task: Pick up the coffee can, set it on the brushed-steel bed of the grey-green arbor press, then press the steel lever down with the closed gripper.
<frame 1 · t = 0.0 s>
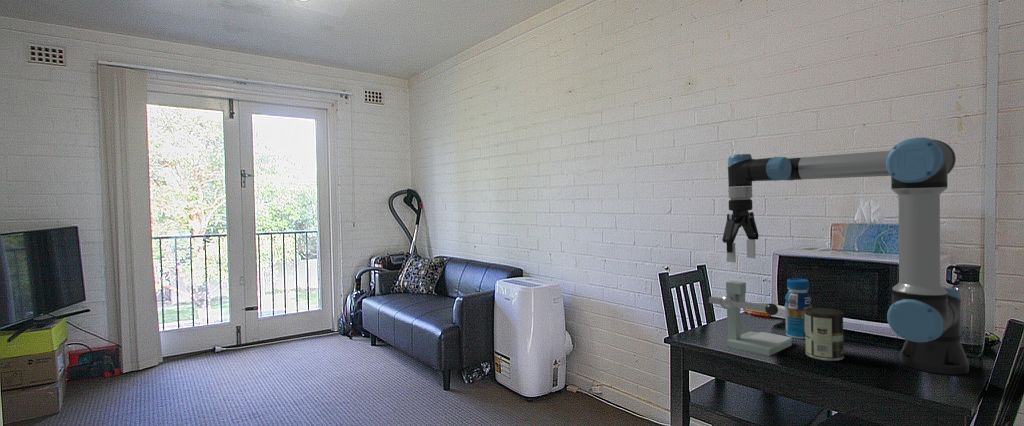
hand: (741, 260, 172), 28 cm above the table, fingers open, 13 cm apart
lever: (742, 304, 161), point 15 cm above the table, hinge at 0.0°
press: (761, 344, 167), on the table
beverage bottle: (798, 336, 175), on the table
coffee can: (824, 356, 154), on the table
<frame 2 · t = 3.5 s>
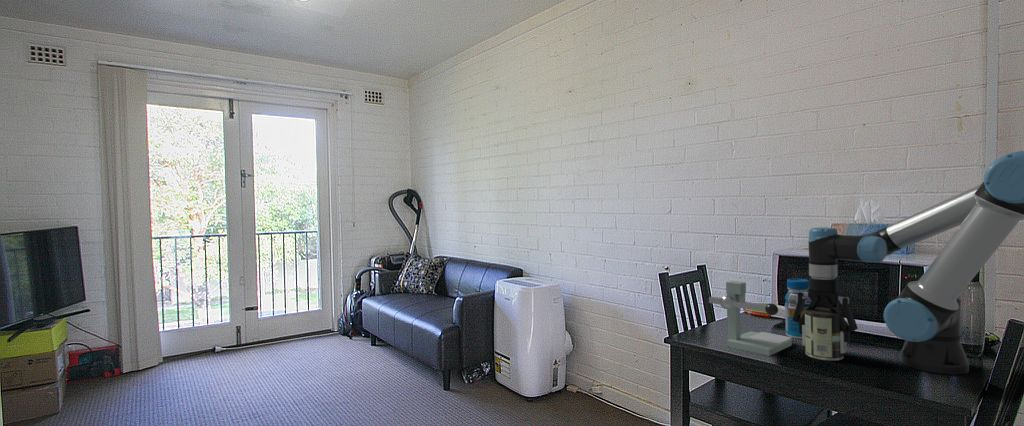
hand: (824, 348, 154), 2 cm above the table, fingers closed on coffee can, 10 cm apart
coffee can: (823, 356, 154), on the table, touching gripper
everything else where it was.
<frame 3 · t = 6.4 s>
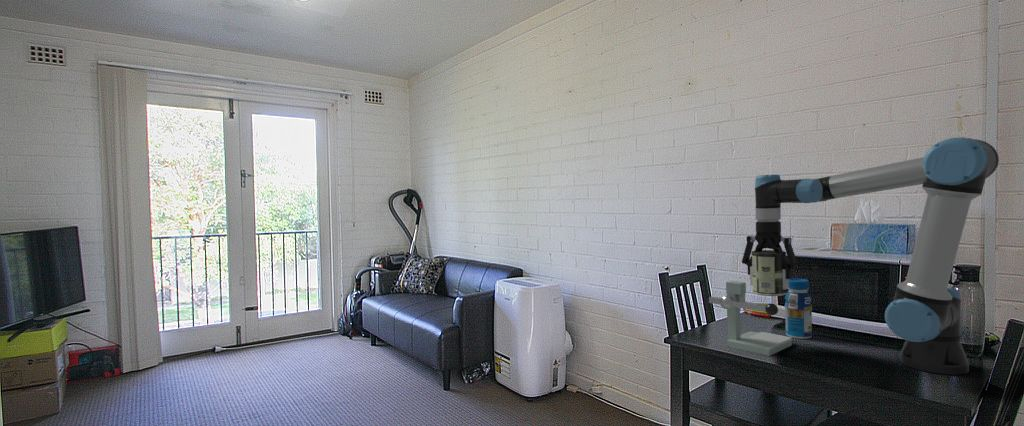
hand: (769, 286, 167), 20 cm above the table, fingers closed on coffee can, 10 cm apart
coffee can: (769, 293, 167), point 17 cm above the table, touching gripper
everything else where it was.
when the fingers open (5 cm above the table, at t = 9.5 s): coffee can stays where it is, resting on press.
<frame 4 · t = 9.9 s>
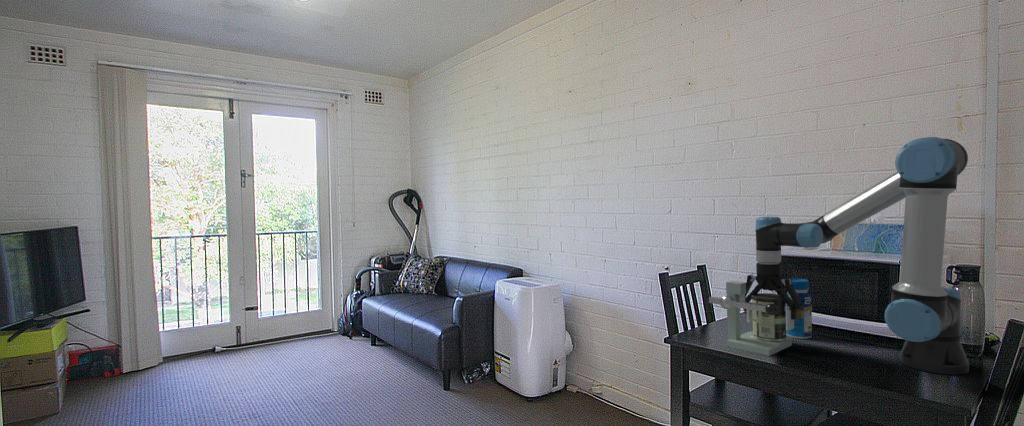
hand: (769, 325, 167), 6 cm above the table, fingers open, 13 cm apart
coffee can: (769, 337, 167), point 2 cm above the table, touching press
everything else where it was.
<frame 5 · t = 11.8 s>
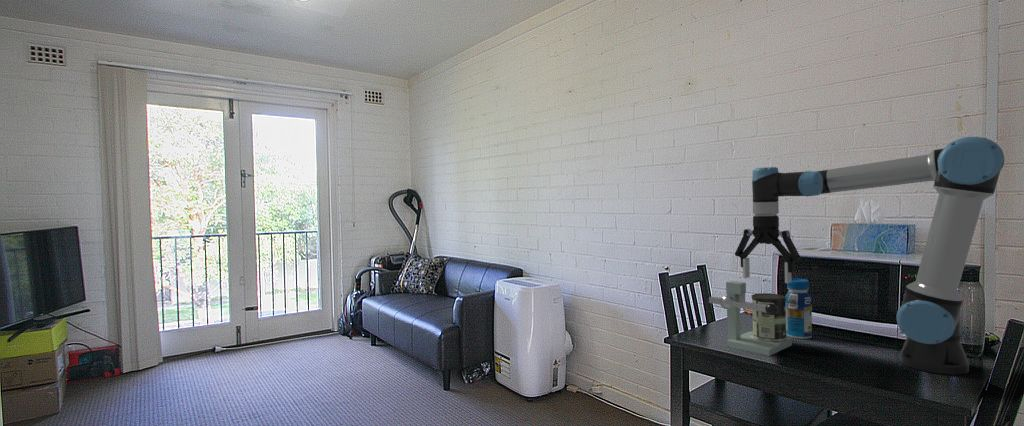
hand: (766, 280, 161), 23 cm above the table, fingers open, 13 cm apart
nothing on the table moved.
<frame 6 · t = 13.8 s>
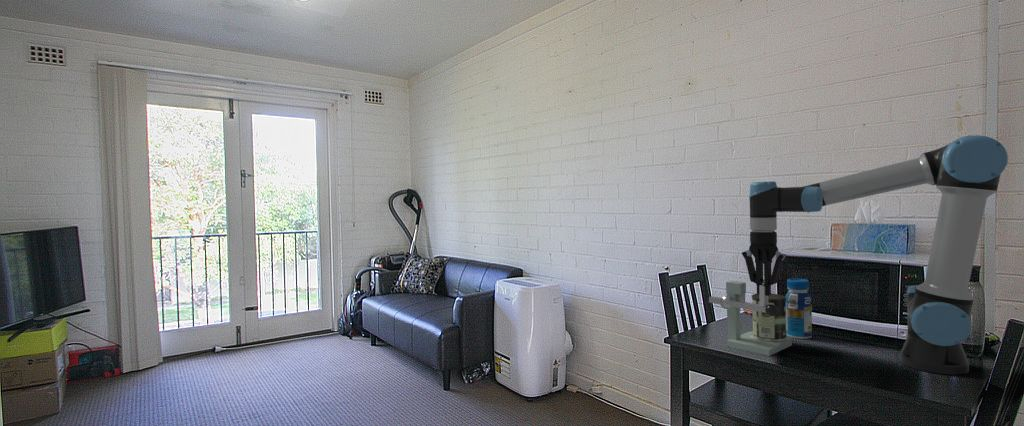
hand: (764, 305, 156), 16 cm above the table, fingers closed
lever: (742, 305, 161), point 15 cm above the table, hinge at 1.1°, touching gripper
everything else where it was.
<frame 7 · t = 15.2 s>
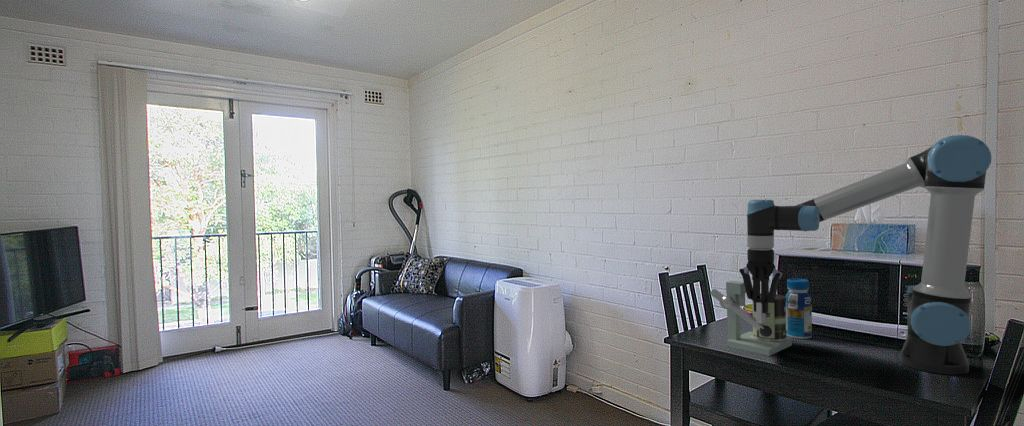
hand: (760, 322, 157), 10 cm above the table, fingers closed
lever: (740, 312, 162), point 12 cm above the table, hinge at 29.7°, touching gripper
everything else where it was.
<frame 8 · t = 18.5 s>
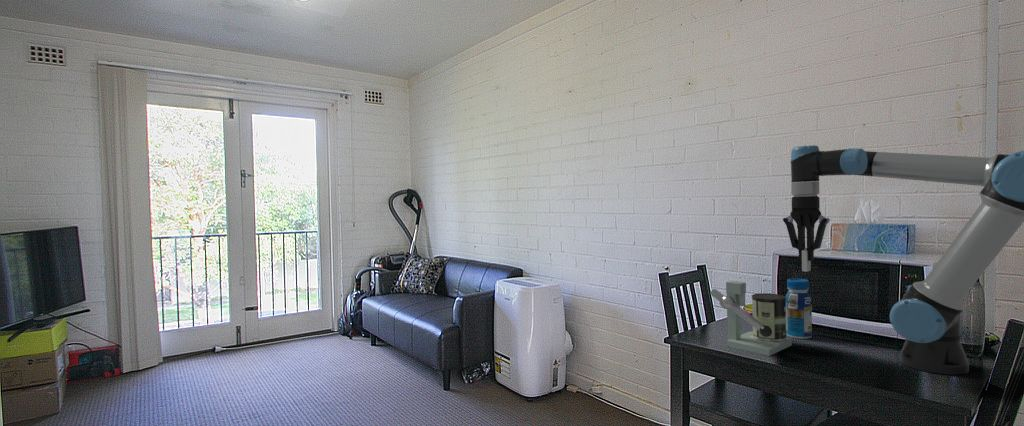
hand: (806, 270, 155), 26 cm above the table, fingers closed
lever: (740, 312, 162), point 12 cm above the table, hinge at 29.9°
everything else where it was.
at the end: coffee can inside the target area on the press (0.2 cm from its centre), point 2.0 cm above the press's base; coffee can tilted 0°; lever at +30° (first picture: +0°) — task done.
